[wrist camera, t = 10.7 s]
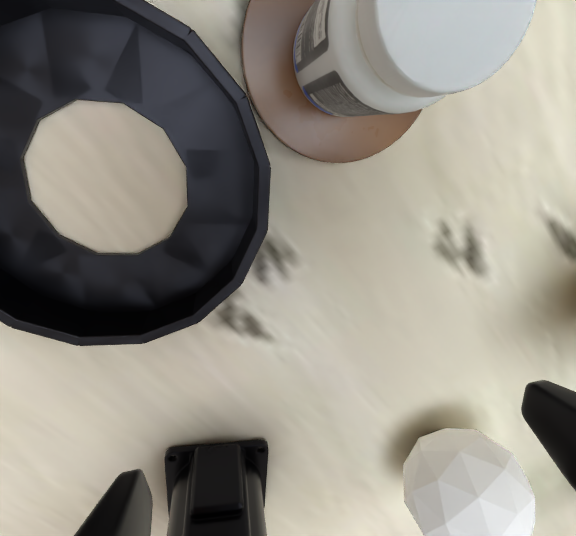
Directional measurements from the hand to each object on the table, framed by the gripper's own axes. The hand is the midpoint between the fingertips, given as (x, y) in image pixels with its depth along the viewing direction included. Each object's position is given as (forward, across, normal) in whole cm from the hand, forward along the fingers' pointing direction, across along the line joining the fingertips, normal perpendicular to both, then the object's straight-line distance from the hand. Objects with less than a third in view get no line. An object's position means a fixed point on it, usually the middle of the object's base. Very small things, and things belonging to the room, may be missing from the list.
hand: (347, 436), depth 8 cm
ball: (+12, -10, +17) cm, 23 cm away
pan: (+12, +11, -6) cm, 17 cm away
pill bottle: (+12, -4, -9) cm, 15 cm away
